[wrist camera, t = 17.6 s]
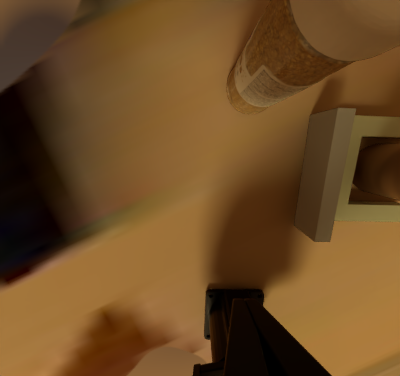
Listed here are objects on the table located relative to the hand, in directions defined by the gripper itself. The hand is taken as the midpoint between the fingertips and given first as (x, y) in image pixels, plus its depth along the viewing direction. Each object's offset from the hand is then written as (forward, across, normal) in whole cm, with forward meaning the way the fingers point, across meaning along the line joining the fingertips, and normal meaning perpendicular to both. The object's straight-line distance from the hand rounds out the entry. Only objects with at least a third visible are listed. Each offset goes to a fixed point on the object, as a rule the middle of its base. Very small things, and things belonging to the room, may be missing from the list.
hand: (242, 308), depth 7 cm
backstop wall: (+12, -10, -4) cm, 16 cm away
